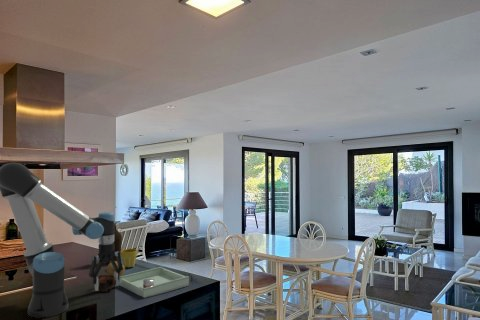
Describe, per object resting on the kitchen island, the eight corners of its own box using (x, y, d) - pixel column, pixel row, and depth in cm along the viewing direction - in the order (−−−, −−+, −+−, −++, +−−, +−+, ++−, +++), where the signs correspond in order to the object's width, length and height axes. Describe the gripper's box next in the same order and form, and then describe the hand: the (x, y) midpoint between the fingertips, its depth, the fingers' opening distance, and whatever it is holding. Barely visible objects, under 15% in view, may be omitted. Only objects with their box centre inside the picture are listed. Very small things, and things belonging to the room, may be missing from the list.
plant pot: (116, 267, 210) (117, 251, 210) (126, 263, 220) (126, 248, 220) (131, 268, 207) (131, 252, 208) (140, 264, 217) (140, 249, 217)
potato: (110, 281, 183) (110, 267, 184) (104, 275, 195) (104, 261, 195) (128, 278, 189) (128, 264, 189) (121, 272, 200) (121, 258, 201)
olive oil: (122, 262, 222) (122, 224, 223) (105, 264, 218) (105, 225, 219) (121, 258, 232) (121, 222, 233) (104, 260, 228) (104, 223, 228)
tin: (146, 295, 161) (146, 282, 161) (141, 292, 165) (141, 280, 165) (155, 292, 165) (155, 280, 165) (150, 290, 168) (150, 277, 168)
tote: (144, 299, 158) (144, 289, 159) (119, 285, 177) (119, 276, 177) (189, 285, 177) (189, 276, 177) (162, 274, 195) (162, 266, 195)
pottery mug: (90, 292, 168) (93, 275, 172) (103, 295, 175) (106, 278, 179) (109, 289, 164) (111, 272, 168) (122, 292, 171) (124, 276, 175)
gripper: (87, 248, 160) (86, 295, 160) (130, 240, 176) (130, 283, 175) (81, 245, 165) (81, 291, 165) (123, 238, 181) (123, 280, 180)
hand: (106, 287), depth 170 cm, fingers closed on pottery mug, 9 cm apart
